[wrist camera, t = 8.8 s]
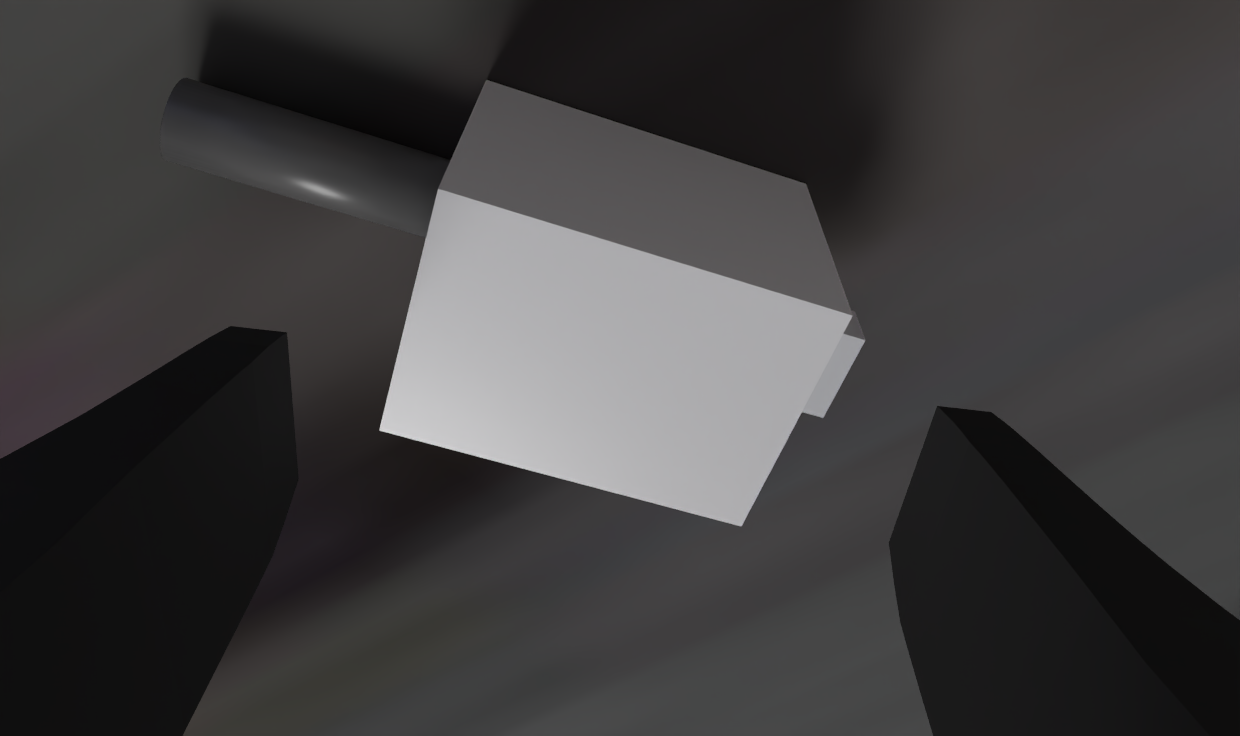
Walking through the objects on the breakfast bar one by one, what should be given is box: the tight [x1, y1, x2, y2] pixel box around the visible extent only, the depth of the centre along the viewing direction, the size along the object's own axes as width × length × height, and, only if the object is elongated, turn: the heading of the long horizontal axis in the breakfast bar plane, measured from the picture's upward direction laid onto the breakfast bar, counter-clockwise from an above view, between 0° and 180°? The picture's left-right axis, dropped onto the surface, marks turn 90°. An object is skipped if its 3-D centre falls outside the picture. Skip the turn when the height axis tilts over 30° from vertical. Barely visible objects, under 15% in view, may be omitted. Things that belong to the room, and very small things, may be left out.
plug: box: [160, 78, 865, 526], centre depth 14 cm, size 10×4×4 cm, turn 72°
